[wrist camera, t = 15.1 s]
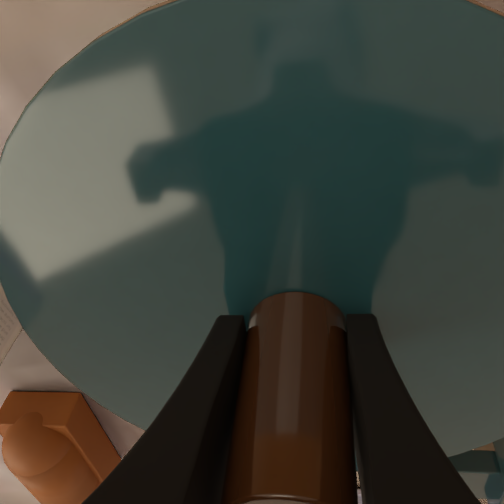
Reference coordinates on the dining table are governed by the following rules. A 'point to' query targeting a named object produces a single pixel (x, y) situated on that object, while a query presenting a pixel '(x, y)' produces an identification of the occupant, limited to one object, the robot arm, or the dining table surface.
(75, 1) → the dining table surface
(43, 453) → the bread
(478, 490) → the pot
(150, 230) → the lid
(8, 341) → the white toy tower
